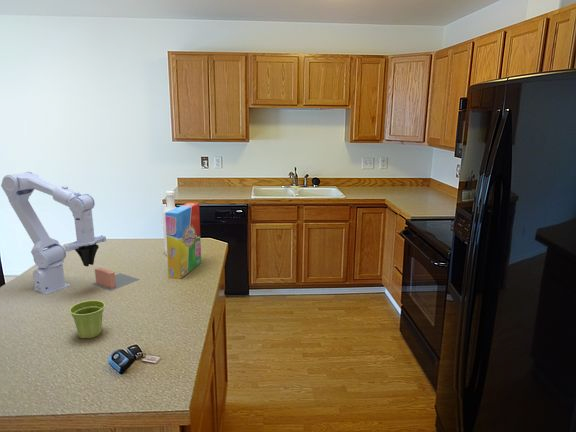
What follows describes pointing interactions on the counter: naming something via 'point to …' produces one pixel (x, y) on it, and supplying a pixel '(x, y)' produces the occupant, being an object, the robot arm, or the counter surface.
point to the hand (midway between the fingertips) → (88, 265)
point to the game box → (183, 239)
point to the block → (105, 278)
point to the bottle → (169, 207)
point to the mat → (119, 281)
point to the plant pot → (88, 317)
